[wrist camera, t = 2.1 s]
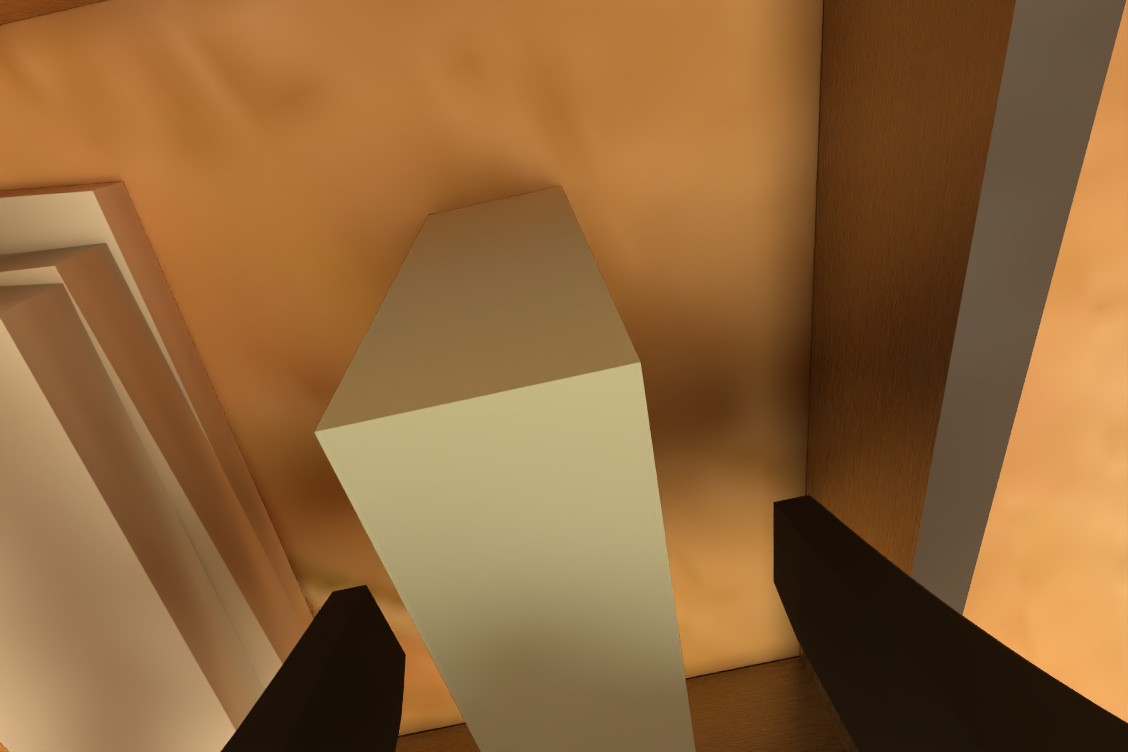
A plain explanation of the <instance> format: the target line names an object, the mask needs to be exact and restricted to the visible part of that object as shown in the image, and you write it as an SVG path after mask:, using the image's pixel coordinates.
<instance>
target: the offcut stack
mask: <svg viewBox="0 0 1128 752" xmlns="http://www.w3.org/2000/svg"><path fill="white" fill-rule="evenodd" d="M312 621H313V616H312V614H311V612H310V610H309V607H308V605H307V603H306V600H305V598H304V596H303V593H302V591H301V589H300V587H299V584H298V582H297V580H296V577H295V575H294V573H293V571H292V568H291V566H290V564H289V561H288V559H287V557H286V554H285V552H284V550H283V548H282V545H281V543H280V541H279V538H278V536H277V534H276V531H275V529H274V527H273V525H272V522H271V520H270V518H269V515H268V513H267V511H266V509H265V506H264V504H263V502H262V499H261V497H260V495H259V492H258V490H257V488H256V486H255V483H254V481H253V479H252V476H251V474H250V472H249V469H248V467H247V465H246V463H245V460H244V458H243V456H242V453H241V451H240V449H239V446H238V444H237V442H236V440H235V437H234V435H233V433H232V430H231V428H230V426H229V424H228V421H227V419H226V417H225V414H224V412H223V410H222V407H221V405H220V403H219V401H218V398H217V396H216V394H215V391H214V389H213V387H212V384H211V382H210V380H209V378H208V375H207V373H206V371H205V368H204V366H203V364H202V362H201V359H200V357H199V355H198V352H197V350H196V348H195V345H194V343H193V341H192V339H191V336H190V334H189V332H188V329H187V327H186V325H185V322H184V320H183V318H182V316H181V313H180V311H179V309H178V306H177V304H176V302H175V300H174V297H173V295H172V293H171V290H170V288H169V286H168V283H167V281H166V279H165V277H164V274H163V272H162V270H161V267H160V265H159V263H158V260H157V258H156V256H155V254H154V251H153V249H152V247H151V244H150V242H149V240H148V237H147V235H146V233H145V231H144V228H143V226H142V224H141V221H140V219H139V217H138V215H137V212H136V210H135V208H134V205H133V203H132V201H131V198H130V196H129V194H128V192H127V189H126V187H125V185H124V182H111V183H97V184H84V185H70V186H57V187H43V188H30V189H16V190H3V191H0V742H1V743H2V744H3V745H4V746H5V747H6V748H7V750H8V751H9V752H221V750H222V749H223V748H224V746H225V745H226V744H227V742H228V741H229V740H230V738H231V737H232V736H233V734H234V733H235V732H236V730H237V729H238V727H239V726H240V725H241V723H242V722H243V720H244V719H245V718H246V716H247V715H248V713H249V712H250V710H251V709H252V708H253V706H254V705H255V703H256V702H257V700H258V699H259V698H260V696H261V695H262V693H263V692H264V691H265V689H266V688H267V686H268V685H269V683H270V682H271V681H272V679H273V678H274V676H275V675H276V673H277V672H278V670H279V669H280V668H281V666H282V665H283V663H284V662H285V660H286V659H287V657H288V656H289V654H290V653H291V651H292V650H293V649H294V647H295V646H296V644H297V643H298V641H299V640H300V638H301V637H302V635H303V634H304V632H305V631H306V629H307V628H308V627H309V625H310V624H311V622H312Z"/></svg>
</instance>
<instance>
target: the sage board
mask: <svg viewBox="0 0 1128 752" xmlns="http://www.w3.org/2000/svg"><path fill="white" fill-rule="evenodd" d="M314 433H315V435H316V437H317V439H318V441H319V443H320V444H321V446H322V448H323V450H324V452H325V454H326V456H327V458H328V460H329V462H330V464H331V466H332V467H333V469H334V471H335V473H336V475H337V477H338V479H339V481H340V483H341V485H342V487H343V489H344V490H345V492H346V494H347V496H348V498H349V500H350V502H351V504H352V506H353V508H354V510H355V512H356V513H357V515H358V517H359V519H360V521H361V523H362V525H363V527H364V529H365V531H366V533H367V535H368V536H369V538H370V540H371V542H372V544H373V546H374V548H375V550H376V552H377V554H378V556H379V558H380V559H381V561H382V563H383V565H384V567H385V569H386V571H387V573H388V575H389V577H390V579H391V581H392V582H393V584H394V586H395V588H396V590H397V592H398V594H399V596H400V598H401V600H402V602H403V604H404V605H405V607H406V609H407V611H408V613H409V615H410V617H411V619H412V621H413V623H414V625H415V627H416V628H417V630H418V632H419V634H420V636H421V638H422V640H423V642H424V644H425V646H426V648H427V650H428V651H429V653H430V655H431V657H432V659H433V661H434V663H435V665H436V667H437V669H438V671H439V673H440V674H441V676H442V678H443V680H444V682H445V684H446V686H447V688H448V690H449V692H450V694H451V696H452V697H453V699H454V701H455V703H456V705H457V707H458V709H459V711H460V713H461V715H462V717H463V719H464V720H465V722H466V724H467V726H468V728H469V730H470V732H471V734H472V736H473V738H474V740H475V742H476V743H477V745H478V747H479V749H480V751H481V752H696V750H695V743H694V736H693V729H692V722H691V715H690V708H689V701H688V694H687V687H686V680H685V673H684V665H683V658H682V651H681V644H680V637H679V630H678V623H677V616H676V609H675V602H674V595H673V588H672V581H671V574H670V567H669V559H668V552H667V545H666V538H665V531H664V524H663V517H662V510H661V503H660V496H659V489H658V482H657V475H656V468H655V461H654V454H653V446H652V439H651V432H650V425H649V418H648V411H647V404H646V397H645V390H644V383H643V376H642V369H641V362H640V360H639V358H638V355H637V353H636V351H635V349H634V346H633V344H632V342H631V340H630V337H629V335H628V333H627V331H626V329H625V326H624V324H623V322H622V320H621V317H620V315H619V313H618V311H617V308H616V306H615V304H614V302H613V300H612V297H611V295H610V293H609V291H608V288H607V286H606V284H605V282H604V279H603V277H602V275H601V273H600V271H599V268H598V266H597V264H596V262H595V259H594V257H593V255H592V253H591V250H590V248H589V246H588V244H587V242H586V239H585V237H584V235H583V233H582V230H581V228H580V226H579V224H578V221H577V219H576V217H575V215H574V213H573V210H572V208H571V206H570V204H569V201H568V199H567V197H566V195H565V192H564V190H563V188H562V186H558V187H553V188H549V189H544V190H540V191H535V192H531V193H526V194H522V195H517V196H513V197H508V198H503V199H499V200H494V201H490V202H485V203H481V204H476V205H472V206H467V207H463V208H458V209H453V210H449V211H444V212H440V213H435V214H431V215H428V217H427V218H426V220H425V222H424V224H423V226H422V228H421V230H420V232H419V234H418V236H417V237H416V239H415V241H414V243H413V245H412V247H411V249H410V251H409V253H408V255H407V256H406V258H405V260H404V262H403V264H402V266H401V268H400V270H399V272H398V274H397V275H396V277H395V279H394V281H393V283H392V285H391V287H390V289H389V291H388V293H387V294H386V296H385V298H384V300H383V302H382V304H381V306H380V308H379V310H378V312H377V313H376V315H375V317H374V319H373V321H372V323H371V325H370V327H369V329H368V331H367V332H366V334H365V336H364V338H363V340H362V342H361V344H360V346H359V348H358V350H357V351H356V353H355V355H354V357H353V359H352V361H351V363H350V365H349V367H348V369H347V370H346V372H345V374H344V376H343V378H342V380H341V382H340V384H339V386H338V388H337V389H336V391H335V393H334V395H333V397H332V399H331V401H330V403H329V405H328V407H327V409H326V410H325V412H324V414H323V416H322V418H321V420H320V422H319V424H318V426H317V428H316V429H315V431H314Z"/></svg>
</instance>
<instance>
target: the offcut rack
mask: <svg viewBox="0 0 1128 752" xmlns="http://www.w3.org/2000/svg"><path fill="white" fill-rule="evenodd" d="M100 1H105V0H0V25H1V24H5V23H9V22H14V21H18V20H22V19H27V18H31V17H35V16H40V15H44V14H48V13H53V12H57V11H61V10H66V9H70V8H74V7H79V6H83V5H87V4H92V3H96V2H100ZM1125 3H1126V0H824V25H823V52H822V79H821V106H820V133H819V160H818V187H817V214H816V241H815V267H814V294H813V321H812V348H811V375H810V402H809V429H808V456H807V483H806V496H807V495H809V496H811V497H812V498H814V499H815V500H817V501H818V502H819V503H820V504H821V505H823V506H824V507H825V508H826V509H827V510H829V511H830V512H831V513H832V514H833V515H834V516H836V517H837V518H838V519H839V520H840V521H842V522H843V523H844V524H845V525H846V526H848V527H849V528H850V529H851V530H852V531H854V532H855V533H856V534H857V535H859V536H860V537H861V538H862V539H863V540H865V541H866V542H867V543H868V544H870V545H871V546H872V547H873V548H875V549H876V550H877V551H878V552H880V553H881V554H882V555H883V556H885V557H886V558H887V559H888V560H890V561H891V562H892V563H893V564H895V565H896V566H897V567H899V568H900V569H901V570H902V571H904V572H905V573H906V574H908V575H909V576H910V577H912V578H913V579H914V580H916V581H917V582H918V583H920V584H921V585H922V586H923V587H925V588H926V589H927V590H929V591H930V592H931V593H933V594H934V595H935V596H937V597H938V598H939V599H941V600H942V601H943V602H945V603H946V604H947V605H949V606H950V607H952V608H953V609H954V610H956V611H957V612H958V613H960V614H961V615H962V614H963V610H964V607H965V603H966V599H967V595H968V592H969V588H970V584H971V580H972V577H973V573H974V569H975V565H976V562H977V558H978V554H979V550H980V547H981V543H982V539H983V535H984V532H985V528H986V524H987V520H988V517H989V513H990V509H991V505H992V502H993V498H994V494H995V490H996V487H997V483H998V479H999V475H1000V472H1001V468H1002V464H1003V460H1004V457H1005V453H1006V449H1007V445H1008V442H1009V438H1010V434H1011V430H1012V427H1013V423H1014V419H1015V415H1016V412H1017V408H1018V404H1019V400H1020V397H1021V393H1022V389H1023V385H1024V382H1025V378H1026V374H1027V370H1028V367H1029V363H1030V359H1031V355H1032V352H1033V348H1034V344H1035V340H1036V336H1037V333H1038V329H1039V325H1040V321H1041V318H1042V314H1043V310H1044V306H1045V303H1046V299H1047V295H1048V291H1049V288H1050V284H1051V280H1052V276H1053V273H1054V269H1055V265H1056V261H1057V258H1058V254H1059V250H1060V246H1061V243H1062V239H1063V235H1064V231H1065V228H1066V224H1067V220H1068V216H1069V213H1070V209H1071V205H1072V201H1073V198H1074V194H1075V190H1076V186H1077V183H1078V179H1079V175H1080V171H1081V168H1082V164H1083V160H1084V156H1085V153H1086V149H1087V145H1088V141H1089V138H1090V134H1091V130H1092V126H1093V123H1094V119H1095V115H1096V111H1097V108H1098V104H1099V100H1100V96H1101V93H1102V89H1103V85H1104V81H1105V78H1106V74H1107V70H1108V66H1109V63H1110V59H1111V55H1112V51H1113V48H1114V44H1115V40H1116V36H1117V33H1118V29H1119V25H1120V21H1121V18H1122V14H1123V10H1124V6H1125ZM686 687H687V694H688V701H689V708H690V715H691V722H692V729H693V736H694V743H695V750H696V752H858V750H857V748H856V746H855V744H854V742H853V741H852V739H851V737H850V735H849V733H848V731H847V730H846V728H845V726H844V724H843V722H842V720H841V719H840V717H839V715H838V713H837V711H836V710H835V708H834V706H833V704H832V702H831V700H830V699H829V697H828V695H827V693H826V691H825V689H824V688H823V686H822V684H821V682H820V680H819V678H818V676H817V675H816V673H815V671H814V669H813V667H812V665H811V663H810V662H809V660H808V658H807V656H806V654H805V652H804V650H803V649H802V647H801V645H800V657H797V658H792V659H787V660H782V661H777V662H772V663H767V664H762V665H757V666H752V667H747V668H742V669H737V670H732V671H727V672H722V673H717V674H712V675H707V676H702V677H697V678H692V679H687V680H686ZM395 752H481V751H480V749H479V747H478V745H477V743H476V742H475V740H474V738H473V736H472V734H471V732H470V730H469V728H468V726H467V724H463V725H458V726H453V727H448V728H443V729H438V730H433V731H428V732H423V733H418V734H413V735H408V736H403V737H398V739H397V745H396V750H395Z"/></svg>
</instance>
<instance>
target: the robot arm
mask: <svg viewBox="0 0 1128 752" xmlns="http://www.w3.org/2000/svg"><path fill="white" fill-rule="evenodd" d="M774 584H775V586H776V588H777V591H778V593H779V596H780V598H781V601H782V603H783V606H784V608H785V611H786V613H787V616H788V618H789V620H790V623H791V625H792V627H793V630H794V632H795V634H796V637H797V639H798V641H799V643H800V645H801V647H802V649H803V650H804V652H805V654H806V656H807V658H808V660H809V662H810V663H811V665H812V667H813V669H814V671H815V673H816V675H817V676H818V678H819V680H820V682H821V684H822V686H823V688H824V689H825V691H826V693H827V695H828V697H829V699H830V700H831V702H832V704H833V706H834V708H835V710H836V711H837V713H838V715H839V717H840V719H841V720H842V722H843V724H844V726H845V728H846V730H847V731H848V733H849V735H850V737H851V739H852V741H853V742H854V744H855V746H856V748H857V750H858V752H1128V723H1127V722H1125V721H1123V720H1121V719H1120V718H1118V717H1116V716H1115V715H1113V714H1111V713H1110V712H1108V711H1106V710H1105V709H1103V708H1101V707H1100V706H1098V705H1097V704H1095V703H1093V702H1092V701H1090V700H1089V699H1087V698H1085V697H1084V696H1082V695H1081V694H1079V693H1077V692H1076V691H1074V690H1073V689H1071V688H1069V687H1068V686H1066V685H1065V684H1063V683H1062V682H1060V681H1058V680H1057V679H1055V678H1054V677H1052V676H1050V675H1049V674H1047V673H1046V672H1044V671H1043V670H1041V669H1040V668H1038V667H1037V666H1035V665H1034V664H1032V663H1031V662H1029V661H1028V660H1026V659H1025V658H1023V657H1022V656H1020V655H1019V654H1017V653H1016V652H1014V651H1013V650H1011V649H1010V648H1008V647H1007V646H1005V645H1004V644H1002V643H1001V642H1000V641H998V640H997V639H995V638H994V637H992V636H991V635H990V634H988V633H987V632H985V631H984V630H982V629H981V628H980V627H978V626H977V625H975V624H974V623H972V622H971V621H969V620H968V619H967V618H965V617H964V616H963V615H961V614H960V613H958V612H957V611H956V610H954V609H953V608H952V607H950V606H949V605H947V604H946V603H945V602H943V601H942V600H941V599H939V598H938V597H937V596H935V595H934V594H933V593H931V592H930V591H929V590H927V589H926V588H925V587H923V586H922V585H921V584H920V583H918V582H917V581H916V580H914V579H913V578H912V577H910V576H909V575H908V574H906V573H905V572H904V571H902V570H901V569H900V568H899V567H897V566H896V565H895V564H893V563H892V562H891V561H890V560H888V559H887V558H886V557H885V556H883V555H882V554H881V553H880V552H878V551H877V550H876V549H875V548H873V547H872V546H871V545H870V544H868V543H867V542H866V541H865V540H863V539H862V538H861V537H860V536H859V535H857V534H856V533H855V532H854V531H852V530H851V529H850V528H849V527H848V526H846V525H845V524H844V523H843V522H842V521H840V520H839V519H838V518H837V517H836V516H834V515H833V514H832V513H831V512H830V511H829V510H827V509H826V508H825V507H824V506H823V505H821V504H820V503H819V502H818V501H817V500H815V499H814V498H812V497H811V496H809V495H807V496H802V497H797V498H792V499H787V500H782V501H777V502H774ZM405 657H406V655H405V653H404V651H403V649H402V647H401V646H400V644H399V642H398V640H397V639H396V637H395V635H394V633H393V631H392V630H391V628H390V626H389V624H388V623H387V621H386V619H385V617H384V615H383V614H382V612H381V610H380V608H379V607H378V605H377V603H376V601H375V599H374V598H373V596H372V594H371V592H370V591H369V589H368V587H367V585H363V586H358V587H354V588H349V589H344V590H339V591H334V592H332V593H331V595H330V596H329V598H328V599H327V601H326V602H325V603H324V605H323V606H322V608H321V609H320V611H319V612H318V613H317V615H316V616H315V618H314V619H313V621H312V622H311V624H310V625H309V627H308V628H307V629H306V631H305V632H304V634H303V635H302V637H301V638H300V640H299V641H298V643H297V644H296V646H295V647H294V649H293V650H292V651H291V653H290V654H289V656H288V657H287V659H286V660H285V662H284V663H283V665H282V666H281V668H280V669H279V670H278V672H277V673H276V675H275V676H274V678H273V679H272V681H271V682H270V683H269V685H268V686H267V688H266V689H265V691H264V692H263V693H262V695H261V696H260V698H259V699H258V700H257V702H256V703H255V705H254V706H253V708H252V709H251V710H250V712H249V713H248V715H247V716H246V718H245V719H244V720H243V722H242V723H241V725H240V726H239V727H238V729H237V730H236V732H235V733H234V734H233V736H232V737H231V738H230V740H229V741H228V742H227V744H226V745H225V746H224V748H223V749H222V750H221V752H395V750H396V745H397V739H398V734H399V728H400V722H401V715H402V703H403V691H404V674H405Z"/></svg>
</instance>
